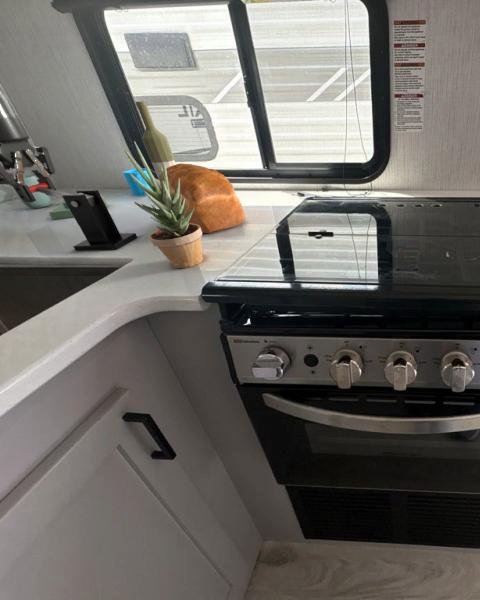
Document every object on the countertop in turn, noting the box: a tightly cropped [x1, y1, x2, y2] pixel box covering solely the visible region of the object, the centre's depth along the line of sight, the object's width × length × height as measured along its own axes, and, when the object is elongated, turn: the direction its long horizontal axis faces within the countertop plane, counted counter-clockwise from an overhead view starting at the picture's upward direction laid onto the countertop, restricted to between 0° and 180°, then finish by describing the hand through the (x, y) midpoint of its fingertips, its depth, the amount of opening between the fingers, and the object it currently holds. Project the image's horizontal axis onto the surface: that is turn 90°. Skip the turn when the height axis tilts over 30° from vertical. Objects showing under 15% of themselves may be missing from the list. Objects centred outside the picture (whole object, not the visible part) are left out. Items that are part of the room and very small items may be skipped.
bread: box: [158, 162, 246, 234], centre depth 93 cm, size 14×26×16 cm, turn 49°
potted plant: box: [124, 140, 204, 269], centre depth 67 cm, size 10×10×25 cm
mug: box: [122, 167, 152, 197], centre depth 123 cm, size 12×8×8 cm
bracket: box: [62, 189, 138, 252], centre depth 80 cm, size 10×8×13 cm
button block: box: [48, 198, 109, 221], centre depth 106 cm, size 12×10×4 cm
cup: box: [9, 173, 52, 209], centre depth 111 cm, size 8×8×10 cm
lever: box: [28, 183, 95, 207], centre depth 77 cm, size 12×5×2 cm, turn 92°
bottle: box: [135, 101, 177, 182], centre depth 112 cm, size 7×7×30 cm
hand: (41, 198), depth 77 cm, fingers closed on lever, 5 cm apart
